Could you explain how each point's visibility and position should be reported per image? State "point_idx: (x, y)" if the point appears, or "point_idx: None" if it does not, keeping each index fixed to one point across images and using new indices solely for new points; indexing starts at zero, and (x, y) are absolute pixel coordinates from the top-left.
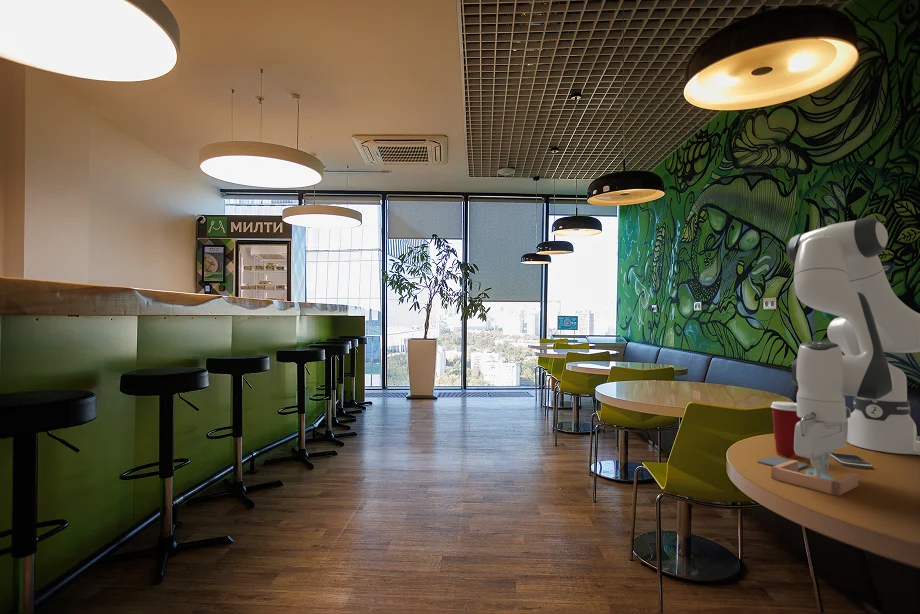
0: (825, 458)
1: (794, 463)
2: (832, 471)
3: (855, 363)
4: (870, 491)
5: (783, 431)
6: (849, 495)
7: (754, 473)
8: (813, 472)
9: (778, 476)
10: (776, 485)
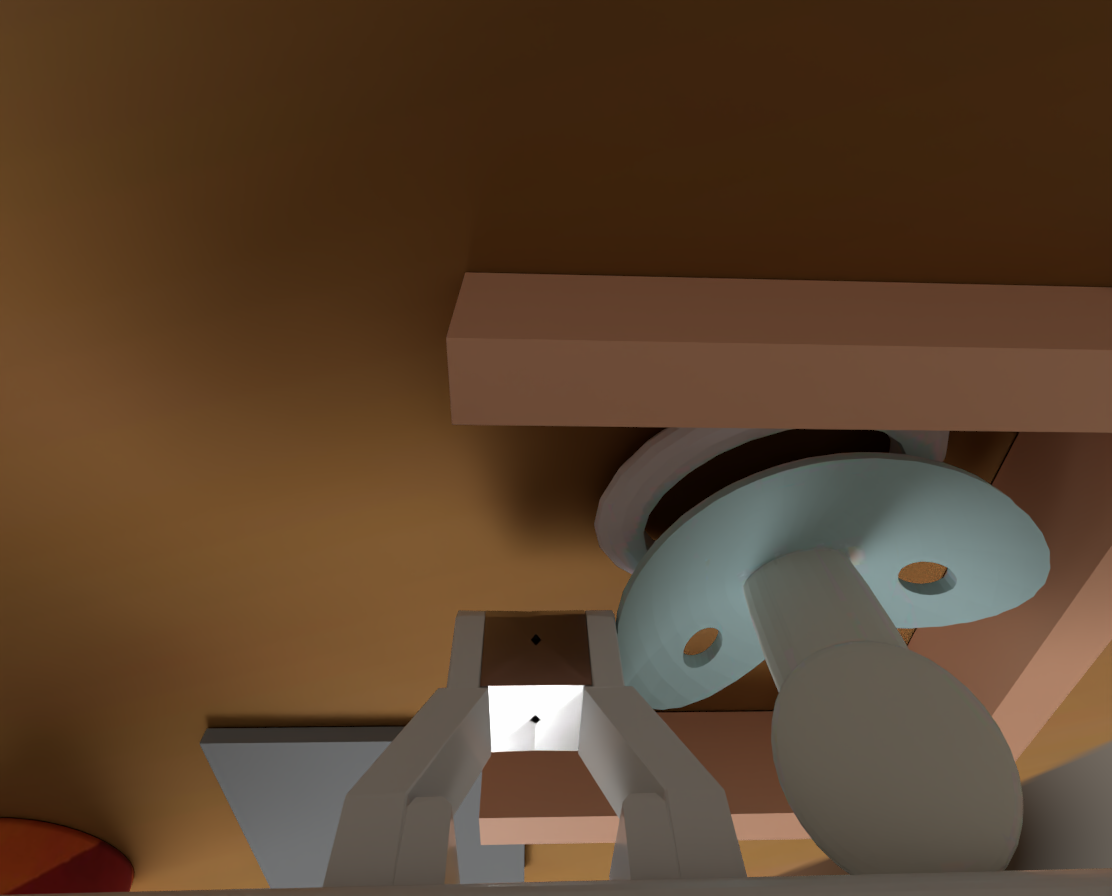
0: (442, 772)
1: (573, 803)
2: (121, 591)
3: None
4: (595, 81)
5: None
6: (1044, 217)
7: None
8: (676, 653)
9: None
10: (1105, 669)
